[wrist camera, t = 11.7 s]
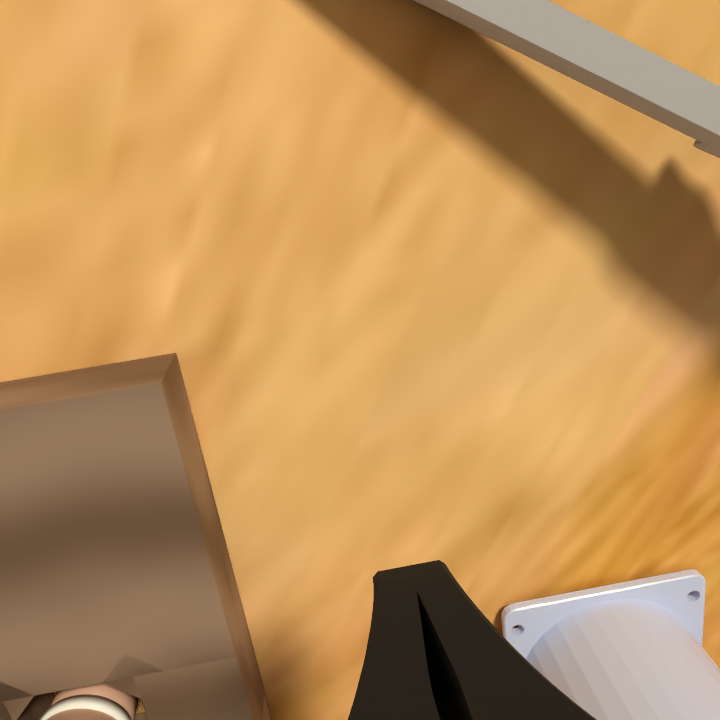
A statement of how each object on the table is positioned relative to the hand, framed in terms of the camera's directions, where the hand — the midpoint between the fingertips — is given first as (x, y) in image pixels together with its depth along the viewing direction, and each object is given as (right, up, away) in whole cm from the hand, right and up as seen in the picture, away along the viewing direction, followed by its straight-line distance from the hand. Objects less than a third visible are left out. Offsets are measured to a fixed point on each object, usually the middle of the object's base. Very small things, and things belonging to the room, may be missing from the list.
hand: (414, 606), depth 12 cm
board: (-11, -4, +10) cm, 16 cm away
